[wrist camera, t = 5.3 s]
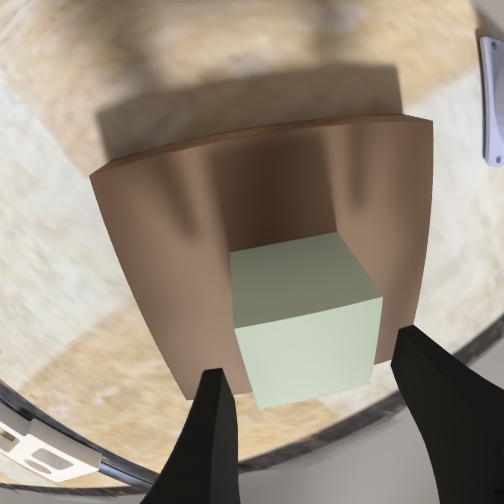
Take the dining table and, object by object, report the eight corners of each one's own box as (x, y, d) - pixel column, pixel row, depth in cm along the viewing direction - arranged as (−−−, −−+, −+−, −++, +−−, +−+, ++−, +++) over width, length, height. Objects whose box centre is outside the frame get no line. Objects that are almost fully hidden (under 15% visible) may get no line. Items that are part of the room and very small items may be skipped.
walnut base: (403, 114, 13) (432, 121, 10) (390, 330, 19) (405, 355, 17) (109, 161, 13) (89, 175, 10) (188, 370, 20) (186, 400, 17)
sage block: (336, 231, 13) (383, 296, 9) (338, 313, 15) (370, 383, 11) (229, 252, 13) (234, 329, 9) (248, 331, 15) (258, 409, 11)
